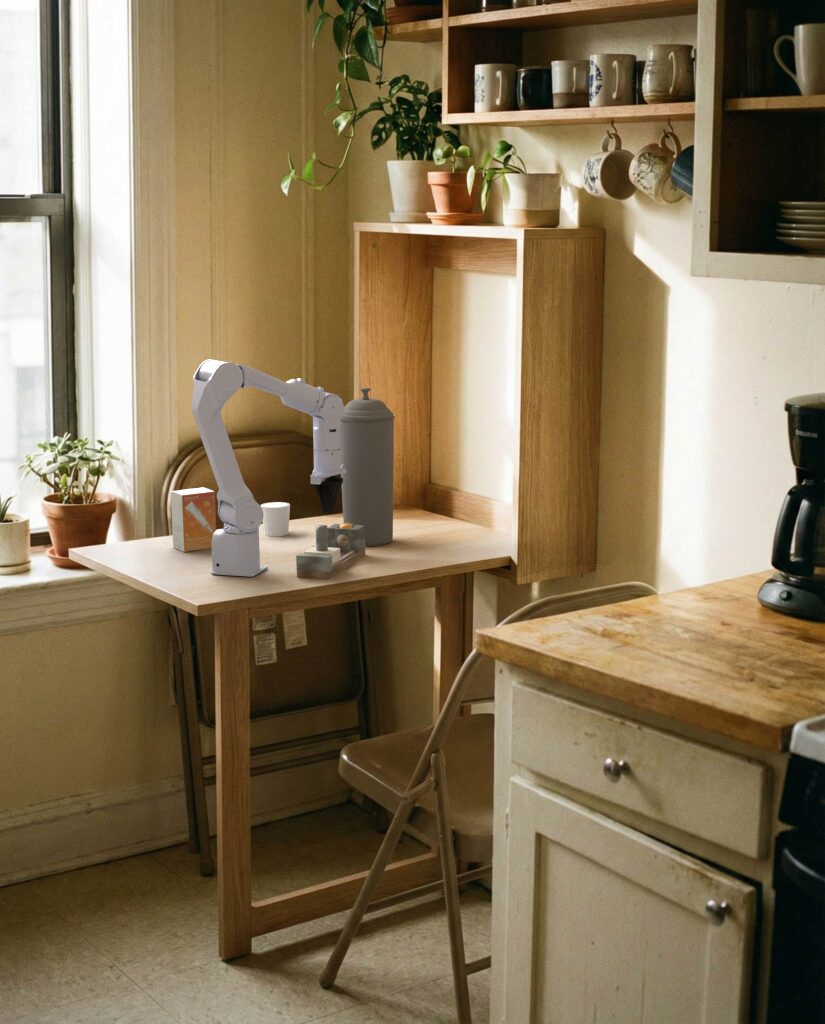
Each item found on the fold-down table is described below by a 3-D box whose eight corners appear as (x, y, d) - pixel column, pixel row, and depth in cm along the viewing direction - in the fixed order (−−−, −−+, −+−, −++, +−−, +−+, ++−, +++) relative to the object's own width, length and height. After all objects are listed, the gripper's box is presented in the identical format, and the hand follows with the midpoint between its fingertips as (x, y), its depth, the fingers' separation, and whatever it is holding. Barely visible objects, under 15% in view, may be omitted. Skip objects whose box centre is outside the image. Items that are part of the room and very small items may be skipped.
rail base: (296, 576, 276) (295, 545, 275) (335, 552, 297) (334, 523, 295) (328, 579, 274) (328, 547, 273) (365, 554, 295) (364, 525, 293)
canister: (376, 550, 298) (373, 392, 291) (329, 544, 305) (325, 389, 298) (407, 539, 309) (405, 386, 302) (361, 533, 316) (357, 383, 308)
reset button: (338, 539, 292) (337, 525, 291) (342, 536, 295) (342, 523, 294) (350, 540, 291) (349, 526, 291) (354, 537, 294) (354, 523, 293)
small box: (184, 552, 299) (181, 494, 296) (172, 547, 304) (169, 490, 302) (217, 547, 303) (215, 490, 301) (205, 542, 309) (203, 486, 306)
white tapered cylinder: (275, 529, 322) (273, 500, 320) (297, 532, 318) (296, 503, 316) (255, 534, 316) (254, 505, 315) (277, 538, 312) (276, 508, 311)
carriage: (304, 563, 278) (303, 528, 277) (313, 557, 283) (312, 523, 282) (331, 564, 277) (330, 529, 275) (340, 559, 281) (339, 524, 280)
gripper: (332, 455, 279) (333, 519, 281) (356, 444, 292) (357, 506, 295) (300, 453, 281) (302, 517, 284) (326, 443, 294) (327, 505, 297)
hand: (328, 512), depth 289 cm, fingers closed
